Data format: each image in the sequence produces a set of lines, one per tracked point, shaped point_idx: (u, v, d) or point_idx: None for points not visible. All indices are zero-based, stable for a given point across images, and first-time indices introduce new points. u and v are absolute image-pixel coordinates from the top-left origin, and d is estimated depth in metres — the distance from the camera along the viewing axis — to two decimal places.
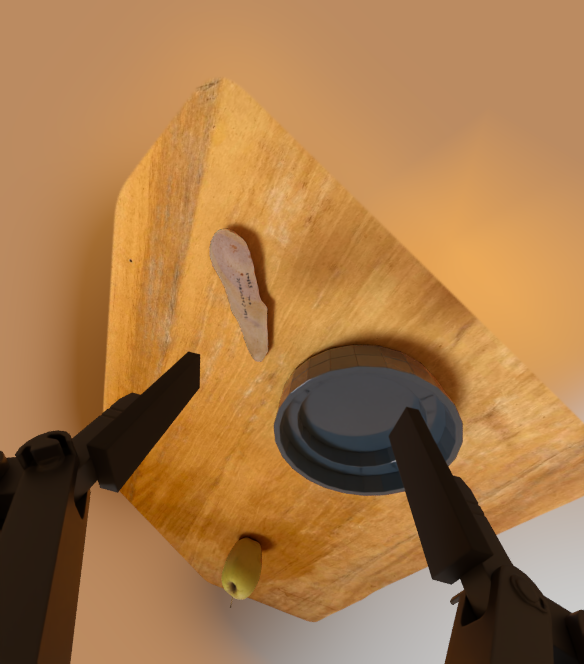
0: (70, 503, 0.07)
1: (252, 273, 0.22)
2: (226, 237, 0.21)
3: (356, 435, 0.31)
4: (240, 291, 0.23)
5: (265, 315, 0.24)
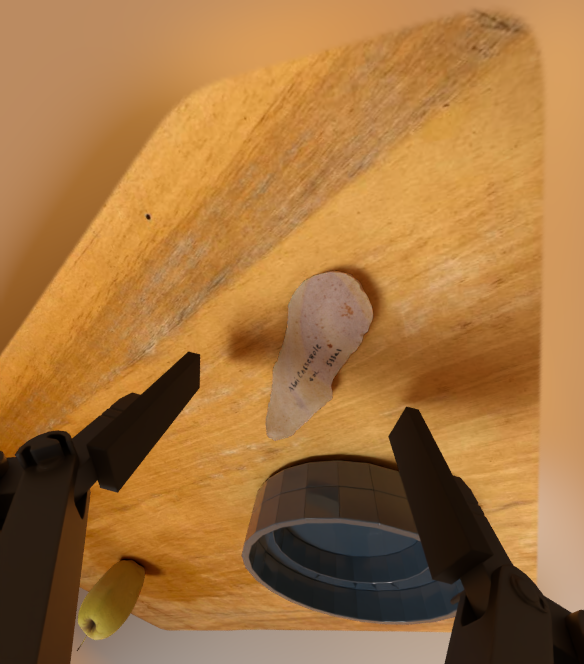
0: (70, 503, 0.07)
1: (347, 354, 0.14)
2: (347, 291, 0.12)
3: (329, 537, 0.26)
4: (309, 360, 0.15)
5: (322, 403, 0.16)
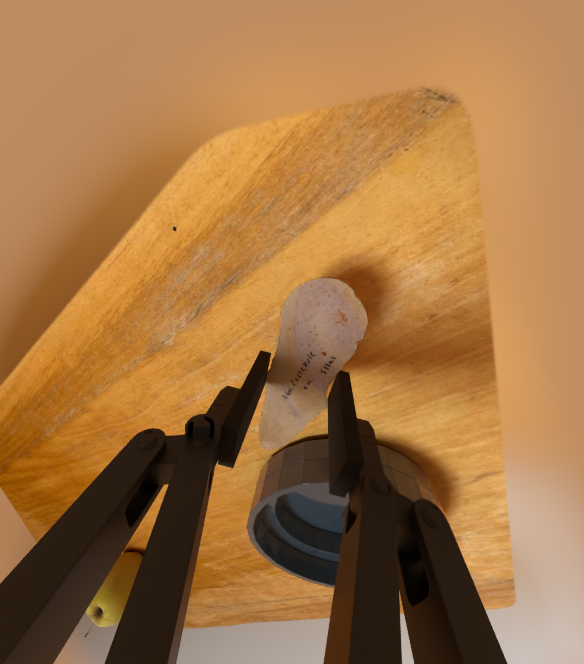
0: (207, 481, 0.08)
1: (342, 361, 0.13)
2: (341, 298, 0.12)
3: (325, 515, 0.28)
4: (302, 368, 0.14)
5: (317, 412, 0.15)
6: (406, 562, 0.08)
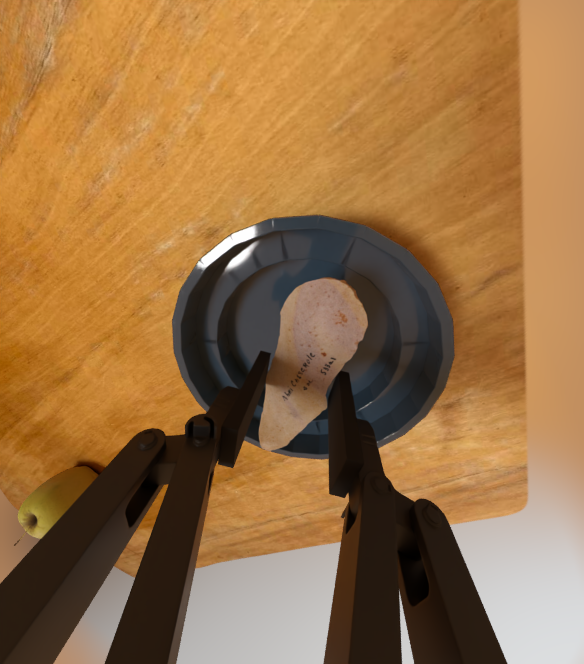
0: (208, 482, 0.08)
1: (342, 362, 0.13)
2: (341, 298, 0.12)
3: None
4: (302, 368, 0.14)
5: (317, 413, 0.15)
6: (406, 563, 0.08)
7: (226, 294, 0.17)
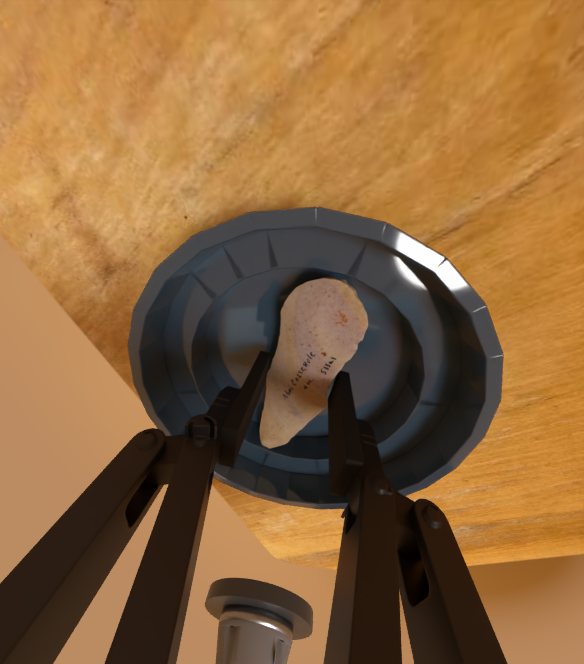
0: (207, 481, 0.08)
1: (342, 362, 0.13)
2: (341, 298, 0.11)
3: None
4: (302, 367, 0.14)
5: (317, 411, 0.16)
6: (407, 563, 0.08)
7: (382, 445, 0.16)
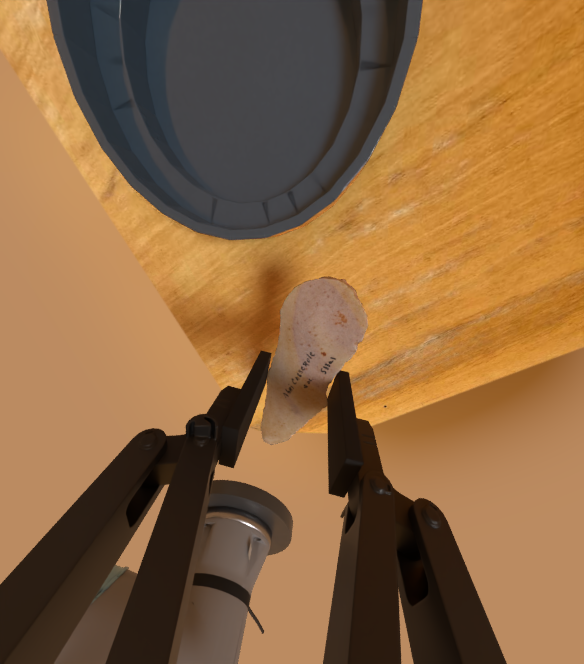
0: (208, 482, 0.08)
1: (341, 362, 0.13)
2: (340, 299, 0.11)
3: None
4: (302, 367, 0.14)
5: (317, 410, 0.16)
6: (406, 562, 0.08)
7: (329, 156, 0.15)
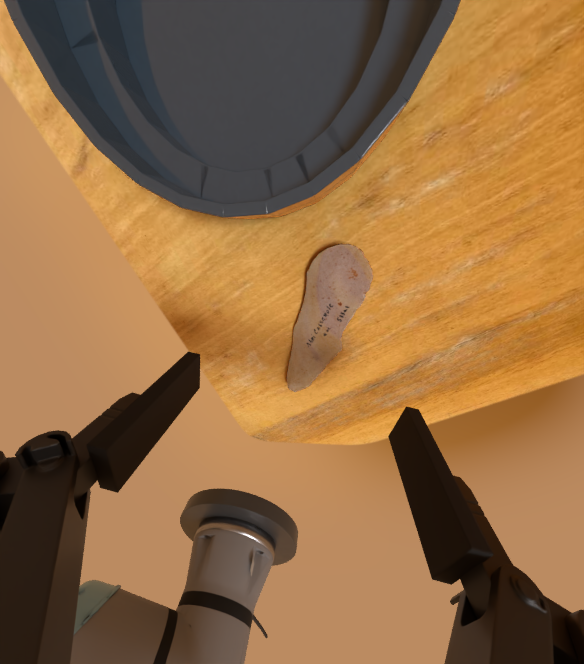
0: (70, 503, 0.07)
1: (353, 309, 0.18)
2: (353, 258, 0.16)
3: None
4: (323, 318, 0.19)
5: (334, 354, 0.20)
6: None
7: (351, 102, 0.12)
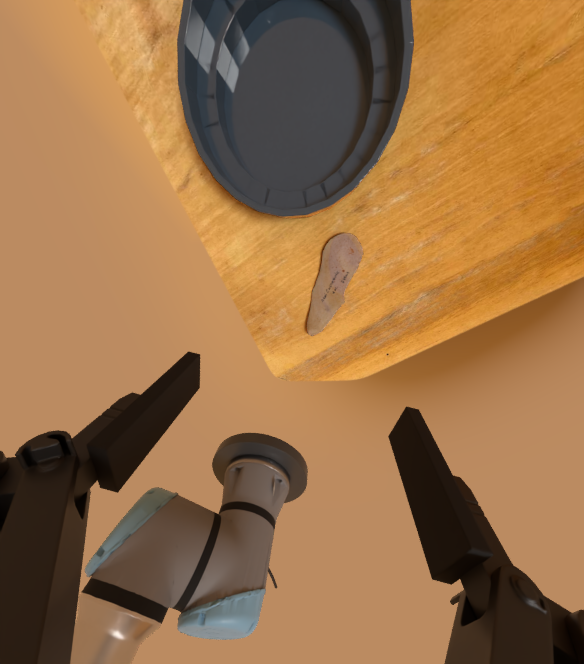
0: (70, 503, 0.07)
1: (351, 274, 0.29)
2: (351, 241, 0.27)
3: (310, 55, 0.21)
4: (332, 281, 0.30)
5: (339, 306, 0.31)
6: None
7: (350, 158, 0.23)
